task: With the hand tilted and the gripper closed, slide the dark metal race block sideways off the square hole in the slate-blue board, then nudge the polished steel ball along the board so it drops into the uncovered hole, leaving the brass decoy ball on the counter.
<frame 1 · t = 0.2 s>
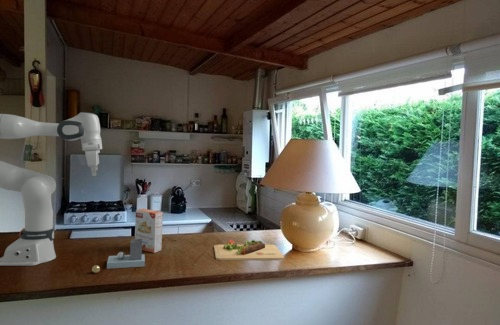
hand: (95, 174, 164), 40 cm above the worktop, tool pointing down, fingers open, 8 cm apart
deck: (126, 263, 158), on the worktop
cutting board: (247, 254, 182), on the worktop
race block: (136, 249, 159), point 7 cm above the worktop, slide at 0.0 cm
brass ball: (96, 269, 145), point 2 cm above the worktop
cracker box: (147, 250, 180), on the worktop
ball: (120, 255, 157), point 4 cm above the worktop, touching deck
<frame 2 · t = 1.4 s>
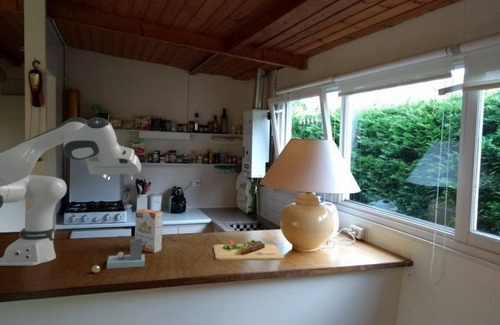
hand: (119, 179, 141), 41 cm above the worktop, tool tilted 40°, fingers open, 8 cm apart
nothing on the worktop moved.
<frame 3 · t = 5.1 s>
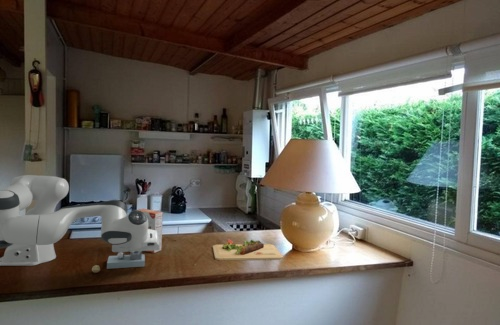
hand: (136, 253, 155), 6 cm above the worktop, tool tilted 45°, fingers closed, pressing on race block
race block: (136, 249, 159), point 7 cm above the worktop, slide at 0.3 cm, touching gripper
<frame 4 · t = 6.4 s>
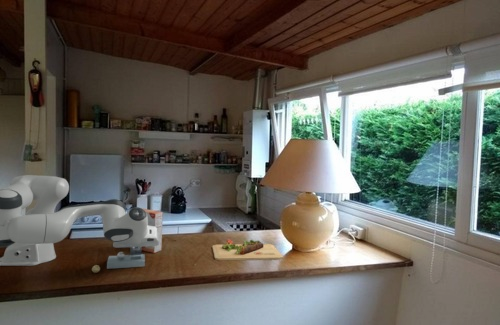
hand: (136, 248, 162), 6 cm above the worktop, tool tilted 45°, fingers closed, pressing on race block
race block: (136, 244, 165), point 7 cm above the worktop, slide at 7.3 cm, touching gripper
everything else where it was.
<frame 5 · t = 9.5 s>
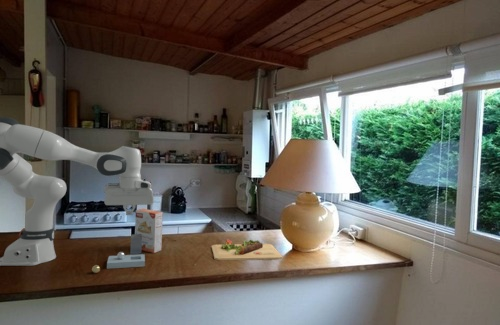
hand: (129, 214, 148), 25 cm above the worktop, tool pointing down, fingers closed
race block: (136, 244, 167), point 7 cm above the worktop, slide at 8.7 cm
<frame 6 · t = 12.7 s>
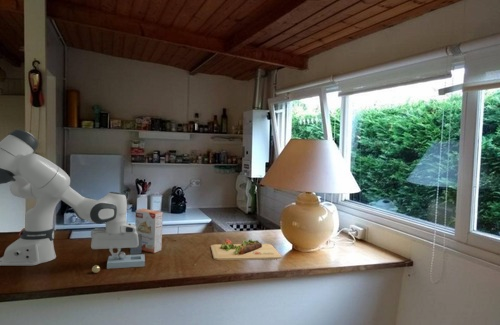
hand: (115, 257, 156), 3 cm above the worktop, tool pointing down, fingers closed
ball: (121, 255, 157), point 4 cm above the worktop, tilted 15°, touching deck, gripper
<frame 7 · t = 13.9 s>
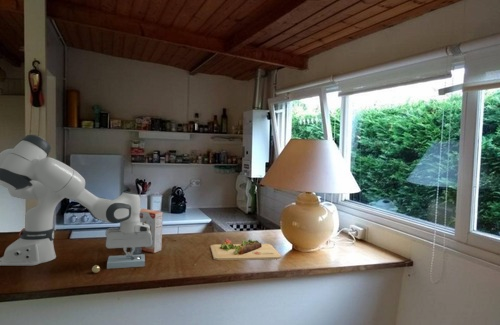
hand: (129, 256, 158), 3 cm above the worktop, tool pointing down, fingers closed
ball: (136, 259, 159), point 2 cm above the worktop, tilted 72°
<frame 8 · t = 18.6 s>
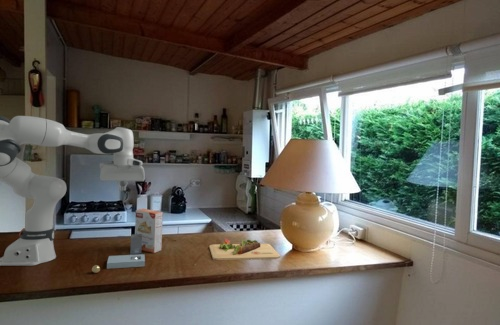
hand: (122, 190, 163), 33 cm above the worktop, tool pointing down, fingers closed
ball: (134, 259, 159), point 2 cm above the worktop, tilted 105°
at the end: ball 0.5 cm from the target spot in the deck, point 1.6 cm above the deck's base; race block slide at 8.7 cm; brass ball moved 0.0 cm from its start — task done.
